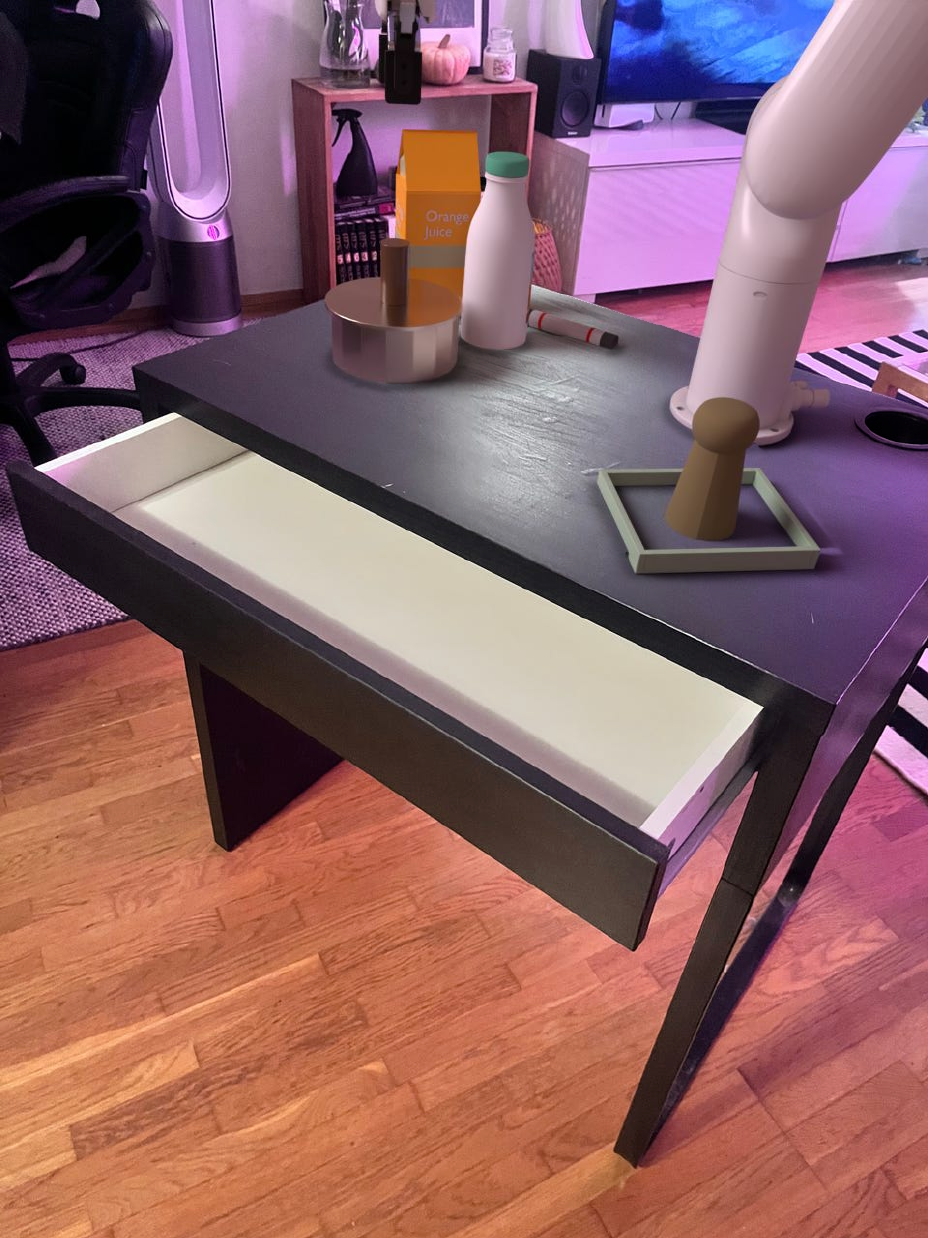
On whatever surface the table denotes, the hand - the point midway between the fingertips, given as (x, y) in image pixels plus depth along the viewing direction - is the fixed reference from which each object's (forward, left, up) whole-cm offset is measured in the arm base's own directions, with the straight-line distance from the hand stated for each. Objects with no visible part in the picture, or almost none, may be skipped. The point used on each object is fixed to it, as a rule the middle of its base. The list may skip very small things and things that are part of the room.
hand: (398, 92), depth 85 cm
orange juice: (-6, -17, -26) cm, 32 cm away
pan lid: (0, 0, -20) cm, 20 cm away
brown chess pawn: (-24, +34, -26) cm, 49 cm away
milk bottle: (-12, -6, -26) cm, 30 cm away
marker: (-20, -8, -26) cm, 34 cm away
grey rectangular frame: (-24, +34, -26) cm, 49 cm away
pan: (0, 0, -26) cm, 26 cm away
